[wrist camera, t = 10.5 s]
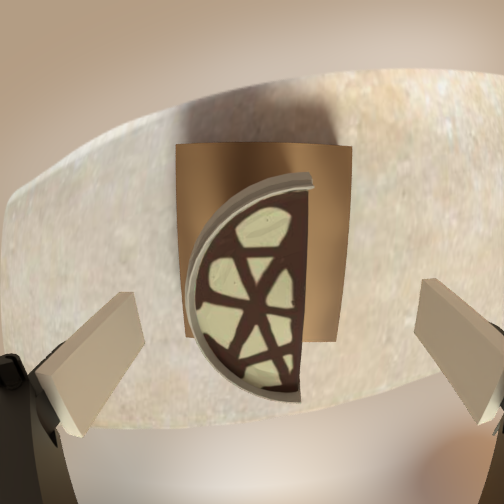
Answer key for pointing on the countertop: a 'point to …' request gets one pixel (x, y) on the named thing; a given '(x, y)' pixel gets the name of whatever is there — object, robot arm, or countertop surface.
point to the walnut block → (253, 171)
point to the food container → (253, 287)
